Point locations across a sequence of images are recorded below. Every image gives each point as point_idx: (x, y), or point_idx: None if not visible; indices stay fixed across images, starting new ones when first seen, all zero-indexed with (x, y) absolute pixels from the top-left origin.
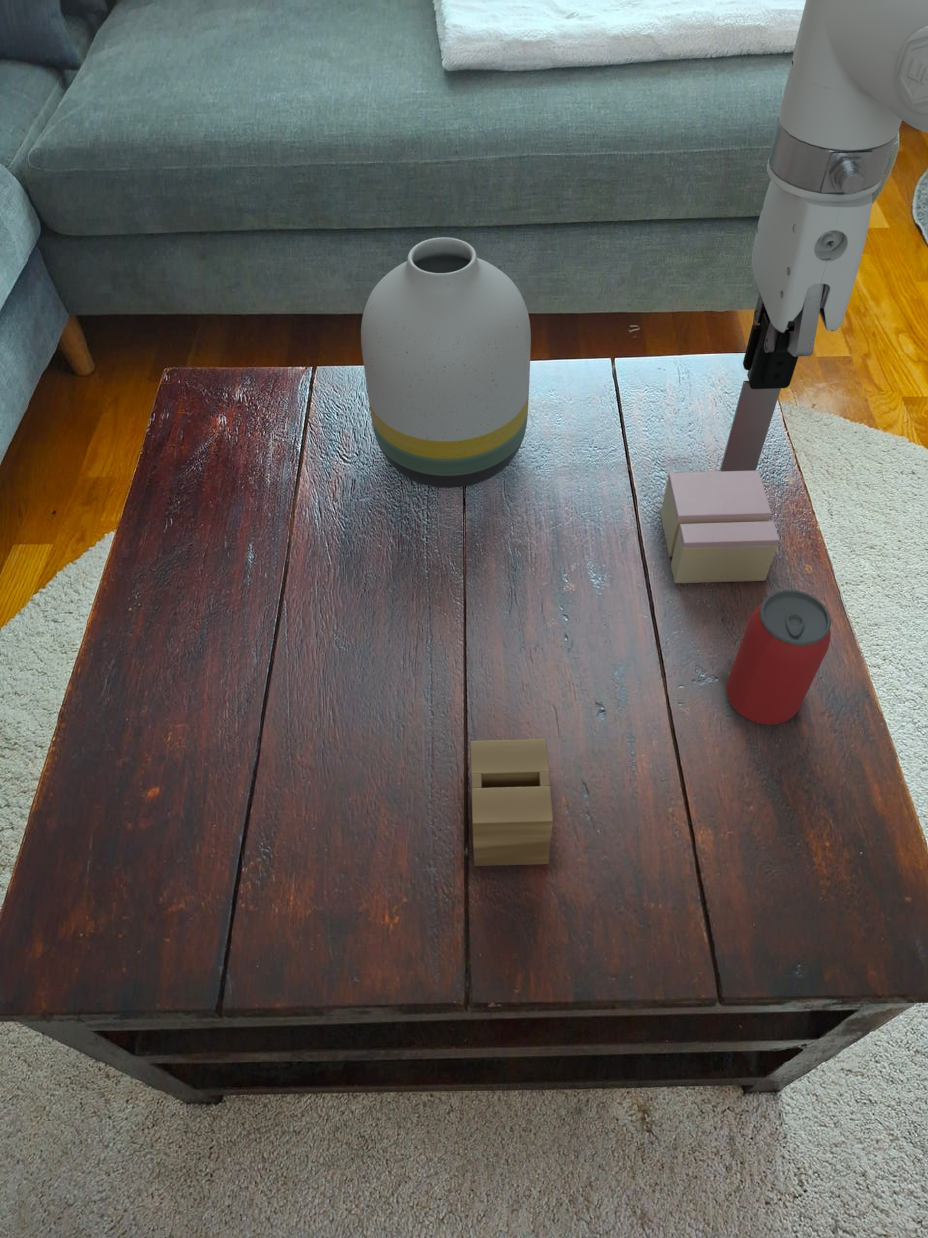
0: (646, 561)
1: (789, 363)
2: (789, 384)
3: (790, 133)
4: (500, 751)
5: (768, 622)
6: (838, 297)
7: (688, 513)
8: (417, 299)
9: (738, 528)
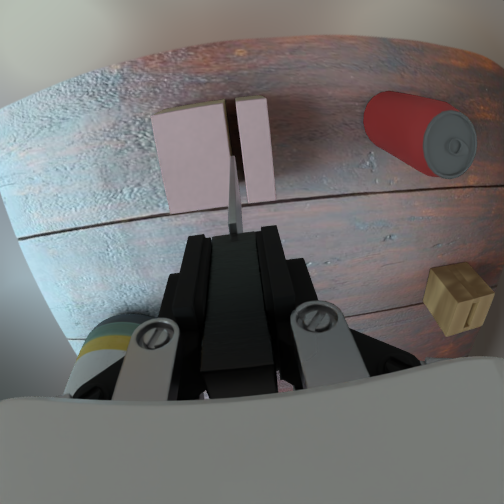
0: (243, 203)
1: (315, 292)
2: (276, 226)
3: None
4: (456, 322)
5: (452, 171)
6: None
7: None
8: None
9: (251, 142)
